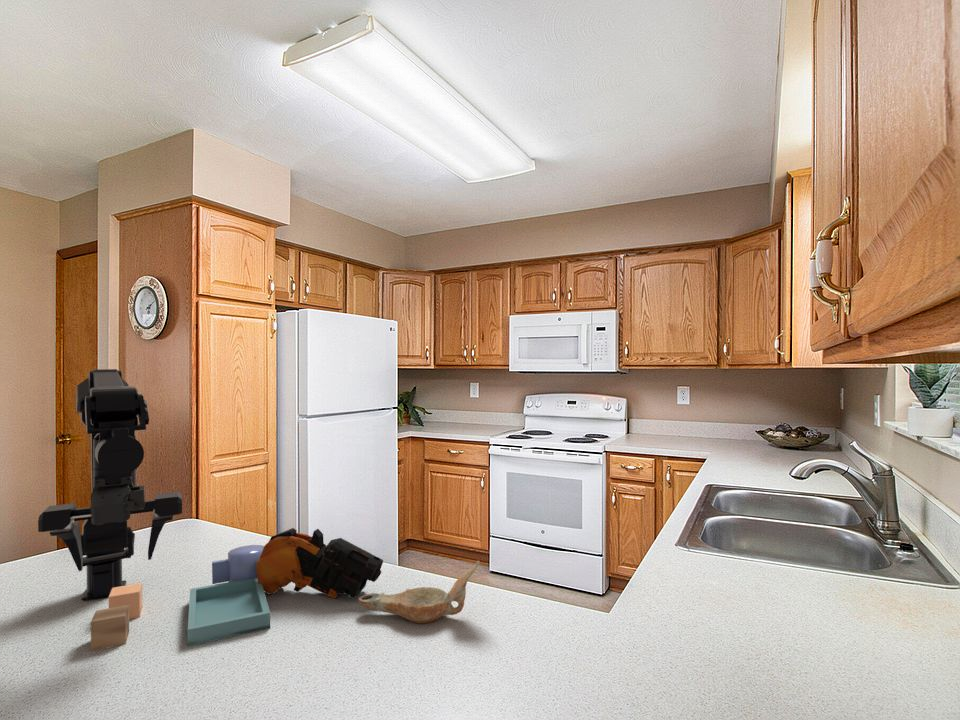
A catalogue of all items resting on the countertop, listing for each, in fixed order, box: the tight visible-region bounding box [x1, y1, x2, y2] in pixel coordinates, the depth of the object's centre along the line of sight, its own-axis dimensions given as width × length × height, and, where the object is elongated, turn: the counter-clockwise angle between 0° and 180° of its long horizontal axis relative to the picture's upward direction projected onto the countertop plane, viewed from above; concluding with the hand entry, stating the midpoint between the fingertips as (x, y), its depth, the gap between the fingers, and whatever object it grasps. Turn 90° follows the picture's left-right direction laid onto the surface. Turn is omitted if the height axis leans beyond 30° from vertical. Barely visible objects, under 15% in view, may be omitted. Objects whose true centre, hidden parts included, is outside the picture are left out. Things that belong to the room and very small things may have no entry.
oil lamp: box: [358, 560, 481, 624], centre depth 94 cm, size 9×21×10 cm, turn 81°
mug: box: [211, 544, 265, 585], centre depth 108 cm, size 7×10×7 cm
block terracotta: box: [108, 582, 143, 620], centre depth 96 cm, size 4×4×4 cm
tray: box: [187, 578, 271, 647], centre depth 96 cm, size 18×12×2 cm, turn 27°
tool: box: [256, 527, 384, 599], centre depth 104 cm, size 8×23×15 cm, turn 79°
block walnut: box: [90, 605, 130, 652], centre depth 87 cm, size 4×4×4 cm
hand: (116, 564), depth 87 cm, fingers open, 9 cm apart
